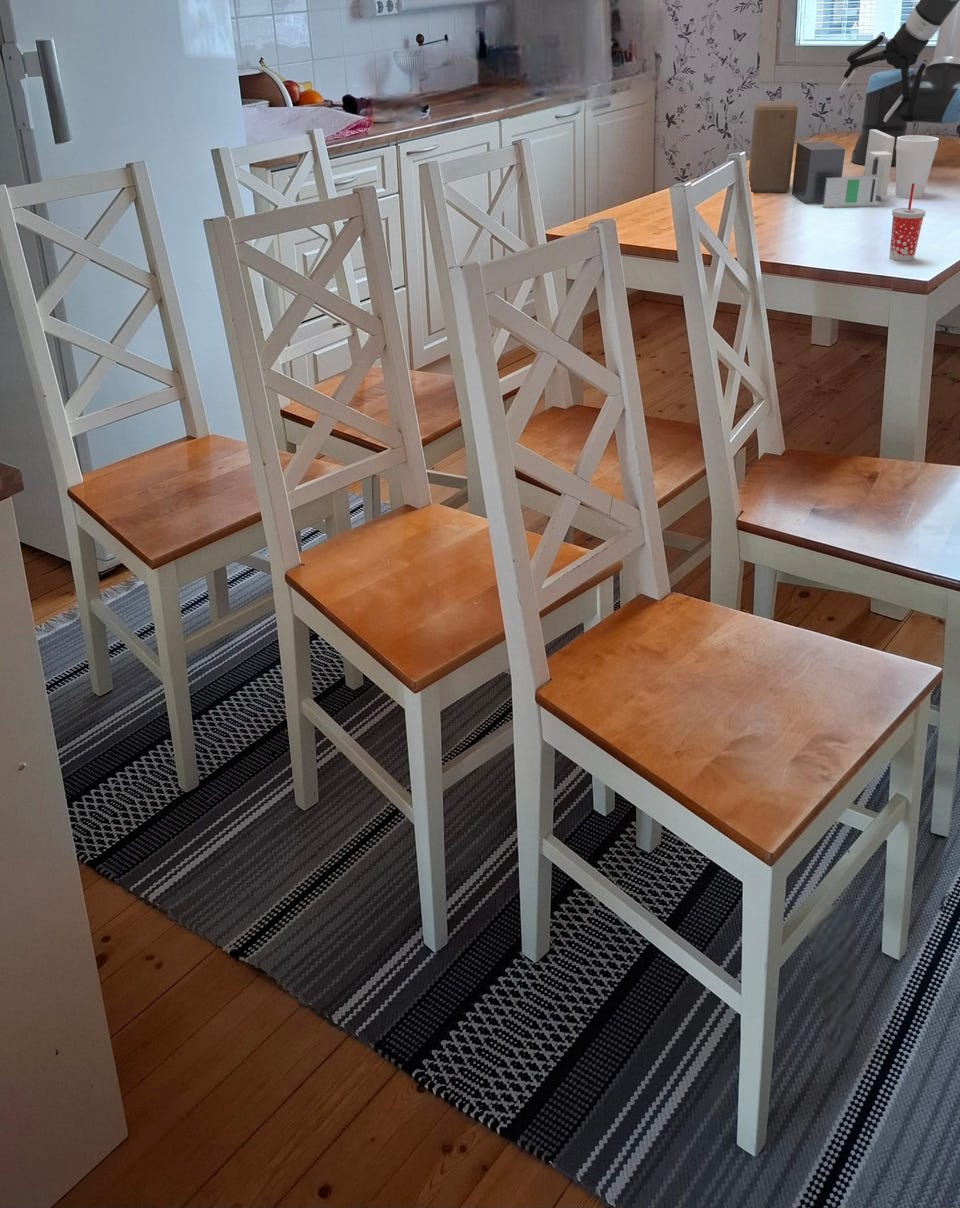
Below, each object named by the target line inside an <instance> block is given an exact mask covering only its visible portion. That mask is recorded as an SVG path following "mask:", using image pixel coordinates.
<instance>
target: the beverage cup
mask: <svg viewBox="0 0 960 1208" xmlns="http://www.w3.org/2000/svg"><path fill="white" fill-rule="evenodd" d="M913 191H914V183H912V187H911V193H910V198H908V199H909V201H908V206H907V207H897V208H893V209H892V211H891V212H892V213H891V215H892V224H891V225H892V226H891V235H890V236H891V237H890V247H889V256H888V257H889V259H890V260H893V261H897V262H899V261H900V262H909V261H914V260H915V256H916V251H917V247H918V242H919V238H920V235H921V234H920V233H921V231H922V230H921V229H922V224H923V220H924V217H925V216H926V209H925V210H924V209H921V208H915V207H912V203H913V202H912V201H913V198H912V197H913Z"/></svg>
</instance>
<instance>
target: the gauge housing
mask: <svg viewBox="0 0 960 1208" xmlns="http://www.w3.org/2000/svg"><path fill="white" fill-rule="evenodd" d="M845 155H846V148H844V147H842V146H840V145H838V144H837V143H834V142H832V141H828V140H827V141H799V142H796V150H795V158H794V159H795V160H794V168H793V180H792V186H791V195H792V196H793V197H795V198H796V199H797V200H799V201H800V202H802V203H803V204H805V205H807V204H808V205H810V204H811V205H812V204H814V205H815V204H817V205H818V204H822V205H821V206H822V208H824V209H825V208H854V207H856V208H857V207H860V208H861V207H875V206H876V202H877V201H881V200H882V196H878V195H877V194H876V193H877V186H878V179H879V177H878V176H864V175H863V176H843V173H844V172H843V171H844V164H845V163H844V162H845Z"/></svg>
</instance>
